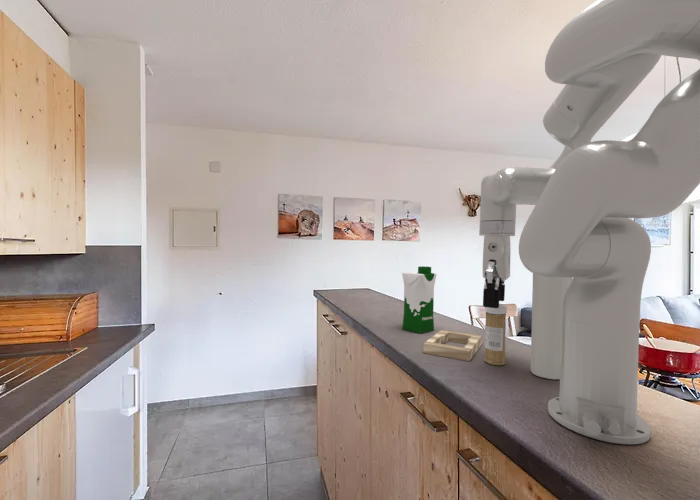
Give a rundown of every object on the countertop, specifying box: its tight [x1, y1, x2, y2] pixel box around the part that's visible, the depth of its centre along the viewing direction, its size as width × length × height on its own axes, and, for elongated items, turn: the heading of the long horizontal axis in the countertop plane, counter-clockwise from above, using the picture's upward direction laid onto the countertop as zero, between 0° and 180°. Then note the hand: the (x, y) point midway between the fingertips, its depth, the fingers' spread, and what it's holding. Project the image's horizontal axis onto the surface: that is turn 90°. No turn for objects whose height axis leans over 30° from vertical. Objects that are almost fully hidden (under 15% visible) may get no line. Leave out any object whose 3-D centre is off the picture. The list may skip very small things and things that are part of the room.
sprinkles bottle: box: [484, 303, 508, 366], centre depth 77 cm, size 5×5×14 cm
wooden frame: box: [422, 329, 483, 362], centre depth 88 cm, size 16×11×2 cm
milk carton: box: [401, 265, 437, 334], centre depth 106 cm, size 9×9×20 cm
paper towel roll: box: [530, 273, 573, 380], centre depth 70 cm, size 7×6×21 cm
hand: (494, 303), depth 78 cm, fingers open, 9 cm apart
